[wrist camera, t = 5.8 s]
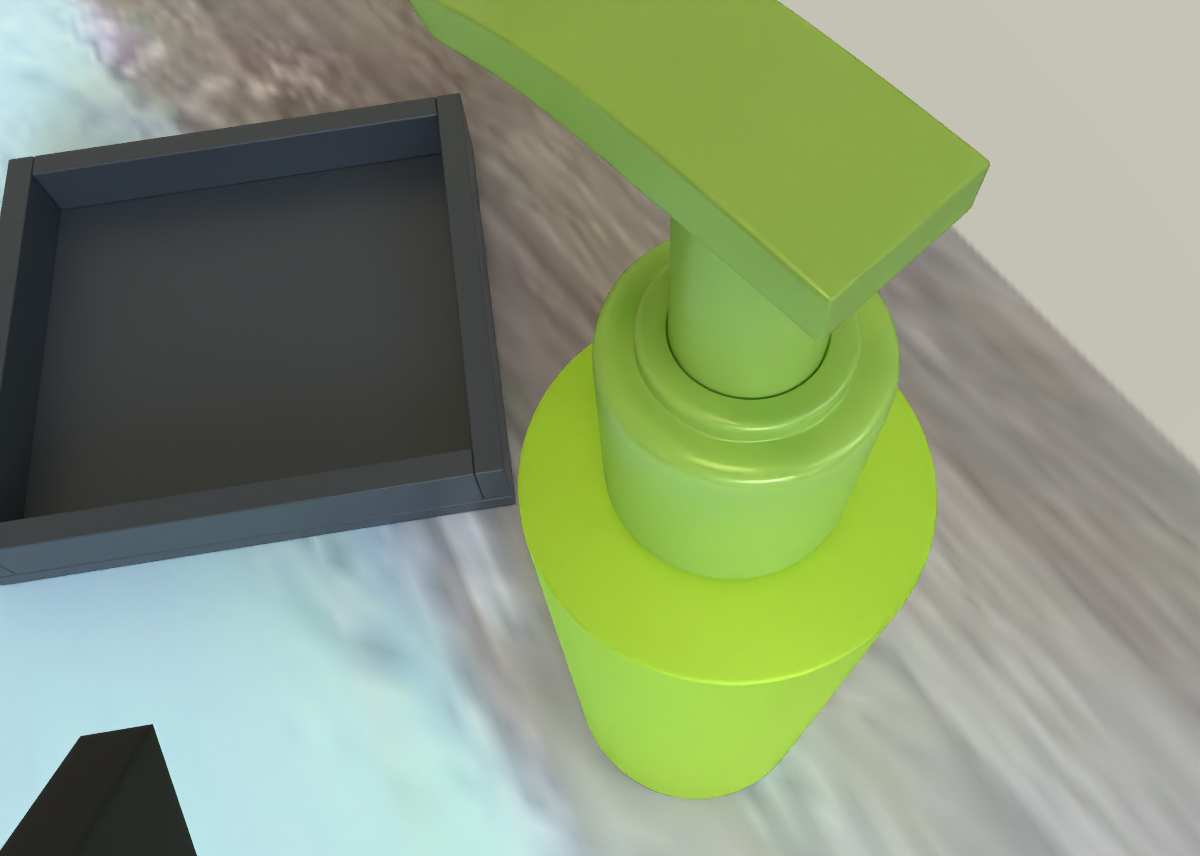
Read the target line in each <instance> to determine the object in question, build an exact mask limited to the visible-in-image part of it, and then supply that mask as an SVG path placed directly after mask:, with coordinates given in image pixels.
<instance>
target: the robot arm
mask: <svg viewBox="0 0 1200 856" xmlns="http://www.w3.org/2000/svg"><path fill="white" fill-rule="evenodd" d="M0 856H197V855H196V852H195V849H194V846H193V843H192V840H191V837H190V834H189V831H188V828H187V825H186V822H185V819H184V816H183V813H182V810H181V807H180V804H179V801H178V798H177V795H176V792H175V789H174V786H173V783H172V780H171V777H170V774H169V771H168V768H167V765H166V762H165V759H164V757H163V754H162V751H161V748H160V745H159V742H158V739H157V736H156V733H155V730H154V727H153V724H151V725H145V726H139V727H133V728H127V729H121V730H115V731H109V732H103V733H97V734H91V735H85V736H80V738H79V739H78V741H77V742H76V743H75V745H74V746H73V748H72V749H71V751H70V752H69V753H68V755H67V756H66V758H65V759H64V761H63V762H62V763H61V765H60V766H59V768H58V769H57V771H56V772H55V773H54V775H53V776H52V778H51V779H50V780H49V782H48V783H47V785H46V786H45V788H44V789H43V790H42V792H41V793H40V795H39V796H38V798H37V799H36V800H35V802H34V803H33V805H32V806H31V808H30V809H29V810H28V812H27V813H26V815H25V816H24V818H23V819H22V820H21V822H20V823H19V825H18V826H17V828H16V829H15V830H14V832H13V833H12V835H11V836H10V837H9V839H8V840H7V842H6V843H5V845H4V846H3V847H2V849H1V850H0Z"/></svg>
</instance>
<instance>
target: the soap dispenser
mask: <svg viewBox="0 0 1200 856" xmlns="http://www.w3.org/2000/svg"><path fill="white" fill-rule="evenodd" d="M409 2H410V3H411V5H412V7H413V8H414V10H415V11H416V13H417V15H418V16H419V18H420V19H421V21H422V22H423V24H424V26H425V27H426V29H427V30H428V32H429V33H430V35H432V36H433V37H434V38H435V39H436V40H438V41H439V42H441V43H443V44H444V45H446V46H448V47H449V48H451V49H453V50H455V51H456V52H458V53H460V54H462V55H463V56H465V57H467V58H469V59H470V60H472V61H474V62H475V63H477V64H478V65H480V66H482V67H483V68H485V69H486V70H488V71H490V72H491V73H493V74H494V75H496V76H497V77H499V78H500V79H502V80H503V81H504V82H506V83H507V84H509V85H510V86H512V87H513V88H514V89H516V90H517V91H519V92H520V93H521V94H523V95H524V96H525V97H527V98H528V99H529V100H531V101H532V102H533V103H535V104H536V105H537V106H539V107H540V108H541V109H542V110H544V111H545V112H546V113H548V114H549V115H550V116H551V117H553V118H554V119H555V120H556V121H558V122H559V123H560V124H561V125H563V126H564V127H565V128H566V129H568V130H569V131H570V132H571V133H573V134H574V135H575V136H576V137H577V138H579V139H580V140H581V141H582V142H583V143H585V144H586V145H587V146H588V147H589V148H591V149H592V150H593V151H594V152H595V153H597V154H598V155H599V156H600V157H601V158H602V159H604V160H605V161H606V162H607V163H608V164H610V165H611V166H612V167H613V168H614V169H615V170H617V171H618V172H619V173H620V174H621V175H622V176H624V177H625V178H626V179H627V180H628V181H629V182H631V183H632V184H633V185H634V186H635V187H636V188H638V189H639V190H640V191H641V192H642V193H643V194H645V195H646V196H647V197H648V198H649V199H651V200H652V201H653V202H654V203H655V204H656V205H658V206H659V207H660V208H661V209H662V210H664V211H665V212H666V213H667V214H668V215H669V216H671V223H670V240H668V241H666V242H664V243H662V244H660V245H658V246H656V247H655V248H653V249H652V250H650V251H649V252H647V253H646V254H644V255H643V256H642V257H640V258H639V259H638V260H637V261H635V262H634V263H633V264H632V265H631V266H630V267H629V268H628V269H627V270H626V271H625V272H624V273H623V274H622V276H621V277H620V278H619V279H618V281H617V282H616V283H615V285H614V286H613V288H612V289H611V291H610V292H609V294H608V296H607V298H606V300H605V302H604V304H603V306H602V308H601V311H600V314H599V317H598V320H597V324H596V328H595V333H594V338H593V343H591V344H590V345H589V346H587V347H586V348H585V349H584V350H583V351H581V352H580V353H579V354H578V355H577V356H576V357H575V358H574V359H573V360H572V361H571V362H570V363H569V364H568V365H567V366H566V367H565V368H564V369H563V370H562V371H561V372H560V374H559V375H558V376H557V377H556V379H555V380H554V381H553V383H552V384H551V385H550V387H549V388H548V390H547V391H546V393H545V394H544V396H543V398H542V399H541V401H540V403H539V405H538V407H537V409H536V411H535V413H534V415H533V417H532V419H531V422H530V424H529V427H528V430H527V433H526V436H525V439H524V443H523V447H522V451H521V457H520V463H519V471H518V503H519V512H520V518H521V523H522V528H523V532H524V536H525V540H526V543H527V546H528V549H529V552H530V555H531V558H532V561H533V564H534V567H535V570H536V573H537V576H538V579H539V582H540V585H541V588H542V591H543V593H544V596H545V599H546V602H547V605H548V608H549V611H550V614H551V617H552V620H553V623H554V626H555V629H556V632H557V635H558V638H559V641H560V644H561V647H562V650H563V653H564V656H565V659H566V662H567V665H568V668H569V671H570V674H571V677H572V680H573V683H574V686H575V689H576V692H577V695H578V698H579V701H580V704H581V707H582V710H583V713H584V715H585V718H586V721H587V724H588V726H589V728H590V731H591V733H592V735H593V737H594V738H595V740H596V742H597V743H598V745H599V746H600V748H601V749H602V751H603V752H604V753H605V755H606V756H607V757H608V758H609V759H610V760H611V761H612V762H613V764H614V765H616V766H617V767H618V768H619V769H620V770H621V771H622V772H623V773H625V774H626V775H627V776H629V777H630V778H631V779H633V780H635V781H636V782H638V783H639V784H641V785H643V786H645V787H647V788H649V789H652V790H654V791H657V792H659V793H662V794H666V795H669V796H674V797H680V798H688V799H705V798H714V797H720V796H724V795H728V794H731V793H734V792H737V791H739V790H742V789H744V788H746V787H748V786H750V785H752V784H753V783H755V782H757V781H758V780H760V779H761V778H762V777H764V776H765V775H766V774H768V773H769V772H770V771H771V770H772V769H773V768H774V767H775V766H776V765H777V764H778V763H779V762H780V761H781V760H782V758H783V757H784V756H785V755H786V753H787V752H788V751H789V750H790V748H791V747H792V746H793V745H794V743H795V742H796V741H797V739H798V738H799V737H800V736H801V734H802V733H803V732H804V731H805V729H806V728H807V727H808V725H809V724H810V723H811V722H812V720H813V719H814V718H815V716H816V715H817V714H818V713H819V711H820V710H821V709H822V708H823V706H824V705H825V704H826V702H827V701H828V700H829V699H830V697H831V696H832V695H833V694H834V692H835V691H836V690H837V688H838V687H839V686H840V685H841V683H842V682H843V681H844V680H845V678H846V677H847V676H848V674H849V673H850V672H851V671H852V669H853V668H854V667H855V666H856V664H857V663H858V662H859V660H860V659H861V658H862V657H863V655H864V654H865V653H866V651H867V650H868V649H869V648H870V646H871V645H872V644H873V643H874V641H875V640H876V639H877V637H878V636H879V635H880V634H881V632H882V631H883V630H884V629H885V627H886V626H887V625H888V623H889V622H890V621H891V620H892V618H893V617H894V616H895V615H896V613H897V612H898V611H899V609H900V608H901V607H902V605H903V604H904V603H905V601H906V600H907V598H908V596H909V595H910V593H911V592H912V590H913V588H914V587H915V585H916V583H917V581H918V579H919V577H920V575H921V573H922V570H923V568H924V566H925V563H926V560H927V557H928V554H929V551H930V548H931V544H932V540H933V535H934V530H935V523H936V513H937V488H936V478H935V471H934V466H933V461H932V457H931V453H930V450H929V446H928V443H927V440H926V438H925V435H924V432H923V430H922V428H921V425H920V423H919V421H918V419H917V417H916V415H915V413H914V412H913V410H912V408H911V406H910V405H909V403H908V402H907V400H906V398H905V397H904V396H903V394H902V393H901V391H900V390H899V389H898V387H897V385H898V378H899V366H900V353H899V343H898V338H897V333H896V329H895V326H894V323H893V320H892V317H891V315H890V312H889V310H888V308H887V306H886V304H885V302H884V301H883V299H882V297H881V296H880V294H879V293H878V291H879V290H880V289H881V288H882V287H883V286H884V285H885V284H886V283H888V282H889V281H890V280H891V279H892V278H893V277H894V276H895V275H897V274H898V273H899V272H900V271H901V270H902V269H903V268H905V267H906V266H907V265H908V264H909V263H910V262H911V261H912V260H914V259H915V258H916V257H917V256H918V255H919V254H920V253H921V252H923V251H924V250H925V249H926V248H927V247H928V246H929V245H930V244H932V243H933V242H934V241H935V240H936V239H937V238H938V237H939V236H941V235H942V234H943V233H944V232H945V231H946V230H947V229H948V228H950V227H951V226H952V225H953V224H954V223H955V222H956V221H957V220H959V219H960V218H961V217H962V216H963V215H964V214H965V213H966V212H967V211H968V210H969V209H970V208H971V206H972V205H973V202H974V200H975V198H976V195H977V193H978V191H979V188H980V186H981V184H982V182H983V180H984V177H985V175H986V173H987V170H988V168H989V166H990V162H989V161H988V160H987V159H986V158H985V157H984V156H982V155H981V154H980V153H979V152H977V151H976V150H975V149H974V148H972V147H971V146H970V145H969V144H967V143H966V142H965V141H963V140H962V139H961V138H960V137H958V136H957V135H956V134H955V133H953V132H952V131H951V130H949V129H948V128H947V127H946V126H944V125H943V124H942V123H940V122H939V121H938V120H937V119H935V118H934V117H933V116H931V115H930V114H929V113H928V112H926V111H925V110H924V109H922V108H921V107H920V106H918V105H917V104H916V103H915V102H913V101H912V100H911V99H909V98H908V97H907V96H906V95H904V94H903V93H902V92H900V91H899V90H898V89H896V88H895V87H894V86H893V85H891V84H890V83H889V82H887V81H886V80H885V79H884V78H882V77H881V76H880V75H878V74H877V73H875V72H874V71H873V70H872V69H870V68H869V67H868V66H866V65H865V64H864V63H862V62H861V61H860V60H858V59H857V58H856V57H854V56H853V55H852V54H850V53H849V52H848V51H846V50H845V49H844V48H842V47H841V46H840V45H838V44H837V43H836V42H834V41H833V40H832V39H830V38H829V37H828V36H826V35H825V34H823V33H822V32H821V31H819V30H818V29H817V28H815V27H814V26H813V25H811V24H810V23H808V22H807V21H806V20H804V19H803V18H801V17H800V16H799V15H797V14H795V13H794V12H793V11H792V10H790V9H789V8H787V7H786V6H784V5H783V4H782V3H780V2H779V1H777V0H409Z"/></svg>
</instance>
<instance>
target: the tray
mask: <svg viewBox="0 0 1200 856" xmlns="http://www.w3.org/2000/svg"><path fill="white" fill-rule="evenodd" d="M511 504H515V494H514V486H513V478H512V470H511V461H510V453H509V445H508V437H507V429H506V420H505V412H504V404H503V396H502V388H501V379H500V371H499V363H498V355H497V346H496V338H495V330H494V322H493V314H492V305H491V297H490V289H489V281H488V273H487V264H486V256H485V248H484V240H483V231H482V223H481V215H480V207H479V199H478V190H477V182H476V174H475V166H474V158H473V149H472V143H471V138H470V134H469V130H468V126H467V121H466V117H465V113H464V108H463V104H462V100H461V95H460V94H459V93H457V94H451V95H444V96H437V97H436V99H435V98H434V97H432V98H425V99H419V100H412V101H405V102H398V103H392V104H385V105H378V106H371V107H364V108H358V109H351V110H344V111H337V112H331V113H324V114H317V115H310V116H304V117H297V118H290V119H283V120H277V121H270V122H263V123H256V124H250V125H243V126H236V127H229V128H223V129H216V130H209V131H202V132H196V133H189V134H182V135H175V136H169V137H162V138H155V139H148V140H141V141H135V142H128V143H121V144H114V145H108V146H101V147H94V148H87V149H81V150H74V151H67V152H60V153H54V154H47V155H40V156H35V157H33V156H31V157H25V158H18V159H11V160H9V164H8V170H7V177H6V183H5V189H4V196H3V202H2V209H1V215H0V585H7V584H13V583H19V582H26V581H32V580H38V579H45V578H51V577H57V576H63V575H70V574H76V573H82V572H89V571H95V570H101V569H108V568H114V567H120V566H126V565H133V564H139V563H145V562H152V561H158V560H164V559H171V558H177V557H183V556H189V555H196V554H202V553H208V552H215V551H221V550H227V549H233V548H240V547H246V546H252V545H259V544H265V543H271V542H278V541H284V540H290V539H296V538H303V537H309V536H315V535H322V534H328V533H334V532H341V531H347V530H353V529H359V528H366V527H372V526H378V525H385V524H391V523H397V522H404V521H410V520H416V519H422V518H429V517H435V516H441V515H448V514H454V513H460V512H467V511H473V510H479V509H485V508H492V507H498V506H504V505H511Z"/></svg>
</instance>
